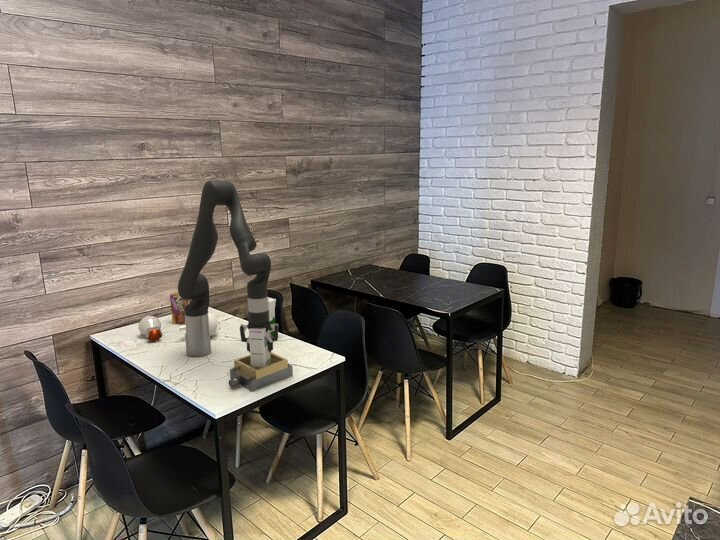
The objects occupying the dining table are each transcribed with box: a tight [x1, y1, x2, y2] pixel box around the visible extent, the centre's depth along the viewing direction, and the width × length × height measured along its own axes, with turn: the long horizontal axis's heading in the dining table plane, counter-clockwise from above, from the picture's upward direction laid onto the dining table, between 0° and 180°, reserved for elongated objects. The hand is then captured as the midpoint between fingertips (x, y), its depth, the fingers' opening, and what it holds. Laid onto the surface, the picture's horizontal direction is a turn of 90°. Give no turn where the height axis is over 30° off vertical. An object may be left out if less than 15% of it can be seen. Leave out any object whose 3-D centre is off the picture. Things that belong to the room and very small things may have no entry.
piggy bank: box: [178, 312, 219, 337], centre depth 225 cm, size 12×12×15 cm
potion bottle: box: [138, 315, 163, 343], centre depth 225 cm, size 9×10×15 cm
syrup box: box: [248, 328, 272, 367], centre depth 183 cm, size 6×6×14 cm
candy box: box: [169, 291, 192, 325], centre depth 242 cm, size 9×4×15 cm, turn 85°
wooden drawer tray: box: [228, 351, 294, 392], centre depth 184 cm, size 22×14×7 cm, turn 135°
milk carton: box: [268, 297, 277, 337], centre depth 222 cm, size 9×9×20 cm
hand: (260, 351), depth 184 cm, fingers closed on syrup box, 6 cm apart
